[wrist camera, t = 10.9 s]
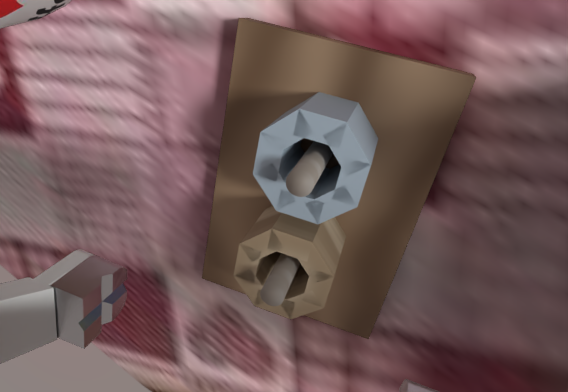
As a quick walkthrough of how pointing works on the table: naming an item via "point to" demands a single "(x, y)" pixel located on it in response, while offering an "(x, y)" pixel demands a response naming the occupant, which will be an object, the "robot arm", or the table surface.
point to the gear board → (301, 180)
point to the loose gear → (287, 152)
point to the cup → (27, 10)
